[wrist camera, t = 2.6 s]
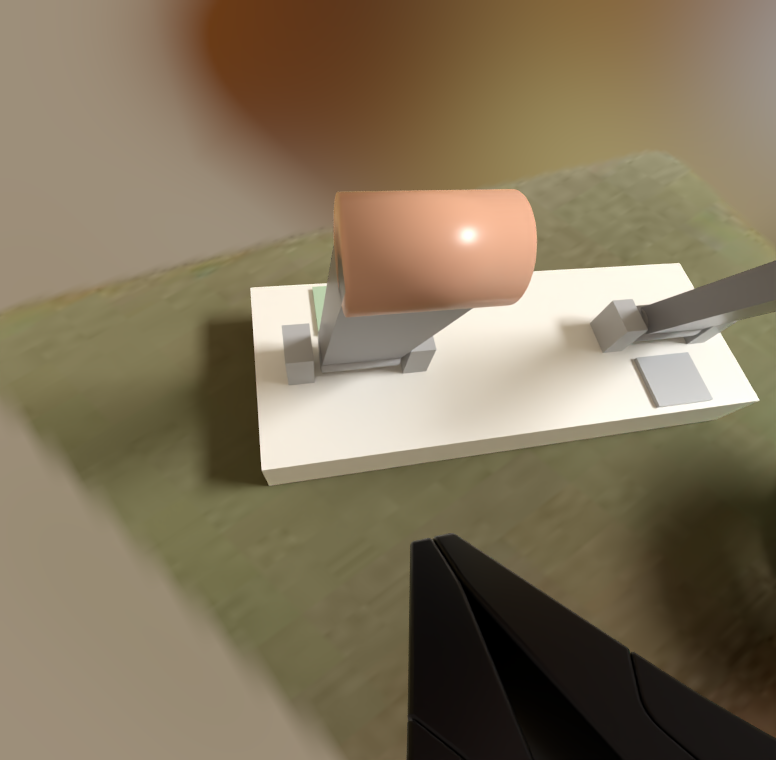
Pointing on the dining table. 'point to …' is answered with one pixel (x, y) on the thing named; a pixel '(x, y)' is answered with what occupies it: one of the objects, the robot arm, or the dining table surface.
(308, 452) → the switch unit
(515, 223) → the terracotta lever
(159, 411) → the dining table surface
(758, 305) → the grey lever
